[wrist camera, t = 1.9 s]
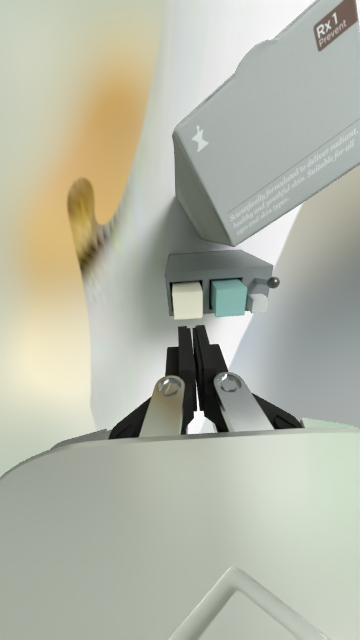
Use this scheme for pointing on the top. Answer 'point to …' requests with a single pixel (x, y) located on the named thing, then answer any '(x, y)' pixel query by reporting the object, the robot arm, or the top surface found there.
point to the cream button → (187, 300)
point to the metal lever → (268, 281)
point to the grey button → (257, 303)
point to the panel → (216, 272)
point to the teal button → (227, 297)
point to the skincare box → (274, 127)
